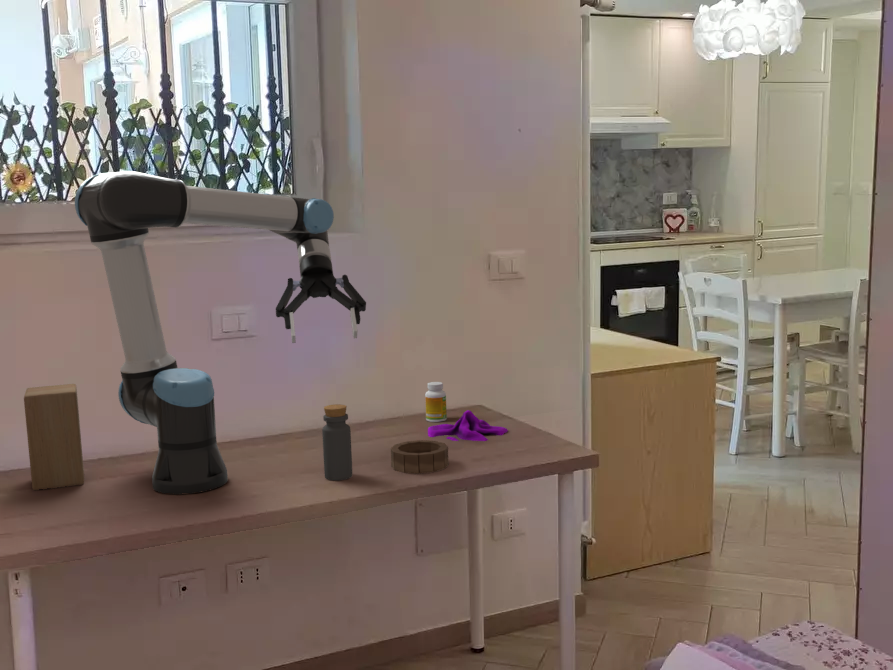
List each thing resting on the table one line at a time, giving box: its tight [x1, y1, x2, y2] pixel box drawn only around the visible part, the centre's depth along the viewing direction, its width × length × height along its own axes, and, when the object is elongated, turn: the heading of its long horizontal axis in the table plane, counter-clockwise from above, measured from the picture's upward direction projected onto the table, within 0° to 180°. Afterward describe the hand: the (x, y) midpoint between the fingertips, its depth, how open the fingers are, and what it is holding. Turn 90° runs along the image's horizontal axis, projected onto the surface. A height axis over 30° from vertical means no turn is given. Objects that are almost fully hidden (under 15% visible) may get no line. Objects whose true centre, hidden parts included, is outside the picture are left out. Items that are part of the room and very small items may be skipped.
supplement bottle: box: [424, 381, 448, 423], centre depth 250 cm, size 5×5×10 cm
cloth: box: [427, 409, 509, 442], centre depth 235 cm, size 22×19×6 cm
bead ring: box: [390, 439, 449, 475], centre depth 208 cm, size 12×12×4 cm
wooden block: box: [23, 383, 85, 491], centre depth 203 cm, size 10×10×20 cm
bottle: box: [321, 403, 353, 481], centre depth 201 cm, size 6×6×15 cm
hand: (324, 337), depth 213 cm, fingers open, 13 cm apart
